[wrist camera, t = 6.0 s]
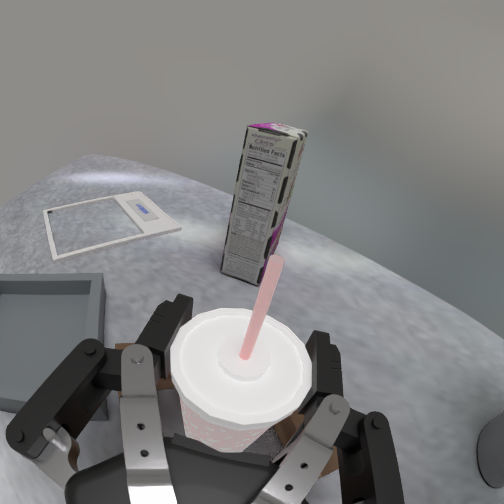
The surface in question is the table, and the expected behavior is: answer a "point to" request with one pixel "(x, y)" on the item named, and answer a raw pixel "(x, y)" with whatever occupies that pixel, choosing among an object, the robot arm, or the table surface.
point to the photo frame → (137, 211)
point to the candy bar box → (261, 198)
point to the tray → (45, 329)
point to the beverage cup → (239, 371)
